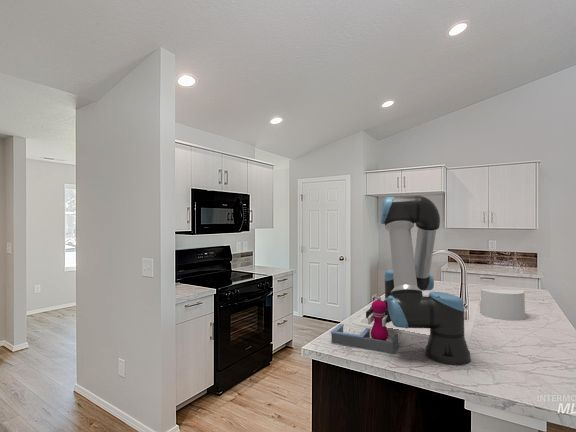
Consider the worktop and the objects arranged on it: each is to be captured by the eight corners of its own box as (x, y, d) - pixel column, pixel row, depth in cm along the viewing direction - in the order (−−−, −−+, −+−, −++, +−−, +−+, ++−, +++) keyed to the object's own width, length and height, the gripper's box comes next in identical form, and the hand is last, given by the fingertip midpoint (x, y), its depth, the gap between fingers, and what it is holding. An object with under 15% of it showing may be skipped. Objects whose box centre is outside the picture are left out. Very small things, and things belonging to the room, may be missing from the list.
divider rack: (398, 343, 139) (398, 332, 139) (392, 353, 129) (392, 341, 129) (340, 334, 151) (340, 324, 151) (330, 343, 141) (330, 332, 141)
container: (513, 310, 184) (512, 286, 184) (533, 321, 165) (532, 294, 165) (474, 309, 188) (473, 285, 188) (489, 320, 168) (488, 293, 168)
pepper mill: (389, 349, 133) (388, 298, 134) (371, 348, 135) (370, 298, 135) (388, 342, 141) (387, 294, 141) (370, 341, 142) (369, 294, 142)
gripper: (409, 318, 149) (399, 334, 129) (369, 313, 158) (354, 328, 138) (409, 301, 149) (399, 315, 129) (369, 297, 158) (353, 309, 138)
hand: (375, 321), depth 133 cm, fingers closed on pepper mill, 5 cm apart
